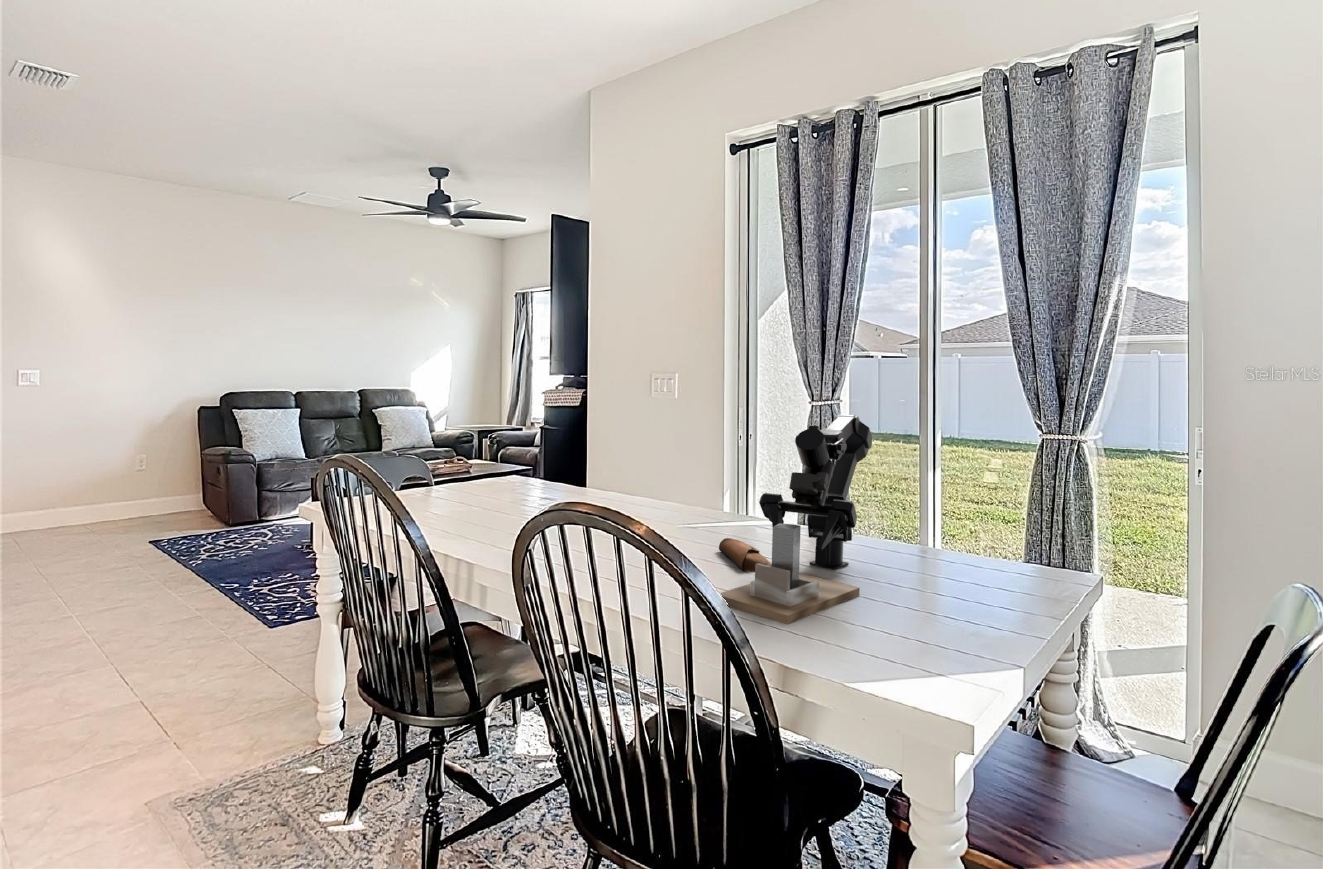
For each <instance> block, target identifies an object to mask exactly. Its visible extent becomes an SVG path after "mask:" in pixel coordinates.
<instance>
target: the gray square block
mask: <svg viewBox="0 0 1323 869" xmlns="http://www.w3.org/2000/svg"><path fill="white" fill-rule="evenodd" d="M771 538H772V539H771V541H772V542H771V564H772V567H776V568H780V569H785V570H789V571H790V590H791V589H794V588H797V587H799V573H800V555H801V554H800V552H801V525H798V524H789V523H783V524H782V523H779V524H777V525H776V526H774V527H773V528H772V537H771Z"/></svg>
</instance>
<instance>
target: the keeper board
mask: <svg viewBox="0 0 1323 869" xmlns="http://www.w3.org/2000/svg"><path fill="white" fill-rule="evenodd" d="M860 588H861V587H858V586H855V585H852V584H851V585H850V584H846V583H842V582H838V581H834V580H830V579H826V578H822V577H817V576H814V575H810V574H805V573H801V572H799V587H797V588H794V589H791V590H790V571H789V570H785V569H780V568H776V567H772V566H768V565H764V564H760V563H758V564H755V571H754V580H751V581H750V583H748V584H744V585H741V586H738V587H735V588H732V589H728V590H726V591H722V592H720V593H721V595H722V597H723V598H724V599H725V600H726V602H727V603H728V605H729V606H730V608H733V609H736V610H739V611H743V612H747V613H750V614H753V615H757V616H760V617H763V618H766V619H769V620H772V621H776V622H779V623H782V624H786V625H790V624H791V623H794V622H796V621H798V620H802V619H804V618H806V617H808V616H810V615H811V616H812V615H813V614H815V613H818V612H821V611H823V610H826V609H828V608H831V607H834V606H836V605H838V604H840V603H843V602H846V601H848V600H850V599H854V598H855V597H858V596H860V590H861V589H860ZM729 606H728V607H729Z"/></svg>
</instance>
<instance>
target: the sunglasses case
mask: <svg viewBox="0 0 1323 869" xmlns="http://www.w3.org/2000/svg"><path fill="white" fill-rule="evenodd" d="M718 550H719V551H720V553H723V554H724V555H726V556H727V558H729V559H731V560H732V561H733V563H735V564H736V565H737V566H738V567H739V568H740V569H741V570H742V571H743V572H755V564H758V563H760V564H764V565H768V566H772V562H770V561H769V560H768V559H767V558H766V557H765V556H764V555H762V554H761V553H760V550H759V549H757V548H755V547H754V546H752V545H750V544H747V543H746V542H744V541H741V540H738V539H735V538H730V537H727V538H723V539H722V540H721V541H720V543H719V545H718Z"/></svg>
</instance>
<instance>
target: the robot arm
mask: <svg viewBox="0 0 1323 869" xmlns="http://www.w3.org/2000/svg"><path fill="white" fill-rule="evenodd" d="M871 432H872V431H871V430H870V427H869V426H867V425H866V424H865V423H864V422H862V421H861V420H860V417H859V415H858V416H857V415H856V414H838V415H836V416H835V419H834V421H832V422H831V423H830V424H829V425H828V426H827V428H825V429H820V426H819V425H811V424H809V426H808V428H807V429H804V430H802V431H801V432H799V433H798V434H797V435H796V436H795V440H794V441H795V442H794V443H795V445H796V449H797V452H798V455H799V459H800V462H801V464H802V465H804V469H803V472H798V471H797V472H796V471H795V472H791V475H790V482H789V489H790V490H792V492H791V497H792V499H794V501H789V500H788V501H787V500H786V501H785V500H784V498H783V495H782V493H781V494H780V493H770V492H765V493H762V495H761V496H760V499H759V501H758V503H759V506H760V509H761V510H762V511H761V512H762V513H763V516H764V517H765V518H766V519H768V520H769V522H771V527H772V529H773V527H774V526H776V525H777V524H779V523H782V524H785V523H784V522H785V521H784V518H785V515H786V512H788V513H798V514H804V515H807V519H806V520H807V531H808V532H807V534H808V538H814V539H815V549H814V550H815V551H814V552H815V554H814V560H811V561H809V565H812V566H815V567H820V568H823V569H827V570H828V569H829V570H837V569H841V568H844V567H847V566H849V562H847V561H844V559H843V558H844V557H843V556H844V554H843V553H844V543H847V542H851V541H852V540H853V528H856V525H857V519H858V515H857V510H856V508H855V504H854V502H853V501H851V500H847V497H848V494H849V490H850V488H851V483H852V481H853V480H852V479H853V476H854V474H855V470H856V467H857V464H858V463H859V462H860V461H862V460H864V459H866V457H867V455H868V452H869V451H870V449H872V445H873V436H872V433H871ZM832 460H835V463H834V462H833V461H832Z"/></svg>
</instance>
